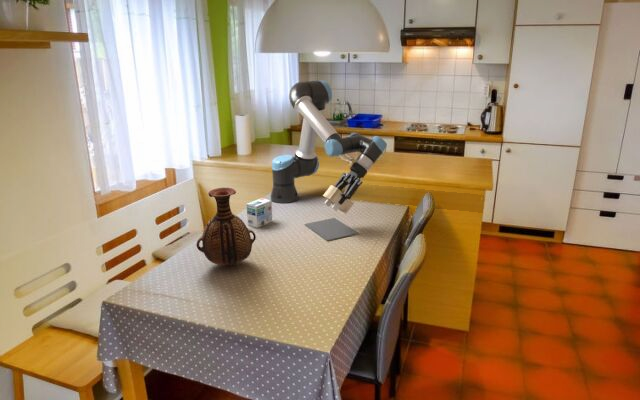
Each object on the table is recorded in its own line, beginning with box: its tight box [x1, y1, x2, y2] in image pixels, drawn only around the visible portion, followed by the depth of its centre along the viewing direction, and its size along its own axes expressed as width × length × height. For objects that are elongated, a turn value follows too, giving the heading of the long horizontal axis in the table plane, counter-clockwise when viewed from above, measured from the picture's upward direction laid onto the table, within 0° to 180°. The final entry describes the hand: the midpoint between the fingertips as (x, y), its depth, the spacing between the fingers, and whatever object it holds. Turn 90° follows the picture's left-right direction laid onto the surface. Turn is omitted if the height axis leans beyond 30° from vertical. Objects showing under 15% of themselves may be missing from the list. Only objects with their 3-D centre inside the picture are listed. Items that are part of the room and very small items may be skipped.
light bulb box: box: [246, 197, 273, 229], centre depth 221 cm, size 11×7×11 cm, turn 143°
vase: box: [196, 187, 257, 267], centre depth 176 cm, size 21×18×30 cm
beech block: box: [322, 184, 355, 215], centre depth 210 cm, size 6×6×12 cm
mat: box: [304, 217, 360, 242], centre depth 213 cm, size 22×16×1 cm
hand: (330, 207), depth 209 cm, fingers closed on beech block, 6 cm apart
